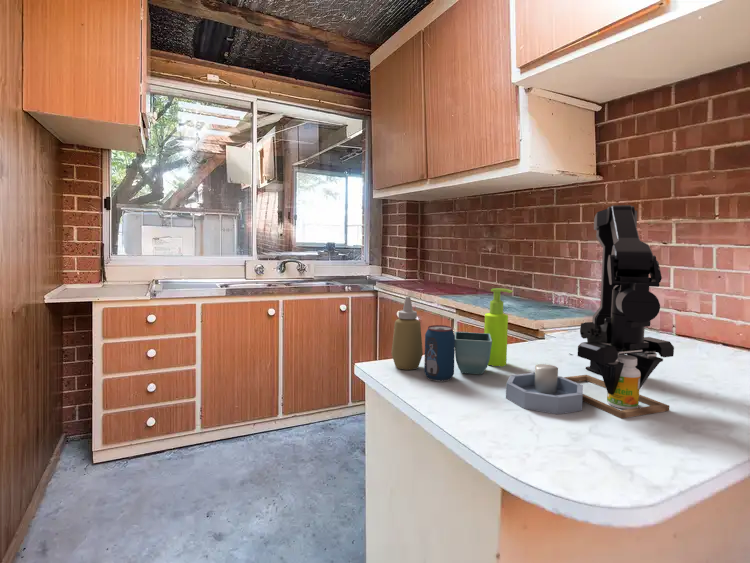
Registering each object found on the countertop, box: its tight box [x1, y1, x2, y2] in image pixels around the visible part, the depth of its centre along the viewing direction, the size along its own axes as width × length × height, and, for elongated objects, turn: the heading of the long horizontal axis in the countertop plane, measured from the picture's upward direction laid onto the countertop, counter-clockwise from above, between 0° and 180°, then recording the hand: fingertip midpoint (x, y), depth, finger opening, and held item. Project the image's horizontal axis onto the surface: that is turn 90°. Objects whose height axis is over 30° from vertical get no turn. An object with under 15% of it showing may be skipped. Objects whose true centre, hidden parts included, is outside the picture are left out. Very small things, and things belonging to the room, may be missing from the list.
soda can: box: [423, 324, 455, 382], centre depth 99 cm, size 7×7×12 cm
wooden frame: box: [563, 374, 670, 419], centre depth 88 cm, size 12×20×1 cm, turn 18°
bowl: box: [505, 372, 584, 415], centre depth 85 cm, size 14×14×3 cm
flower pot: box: [454, 331, 492, 375], centre depth 104 cm, size 9×9×9 cm
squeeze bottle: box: [391, 296, 424, 371], centre depth 106 cm, size 8×8×18 cm
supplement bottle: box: [606, 354, 641, 410], centre depth 83 cm, size 5×5×10 cm
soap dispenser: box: [483, 287, 514, 367], centre depth 110 cm, size 6×7×20 cm
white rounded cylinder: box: [534, 363, 559, 394], centre depth 88 cm, size 4×4×5 cm
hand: (623, 392), depth 83 cm, fingers open, 6 cm apart
